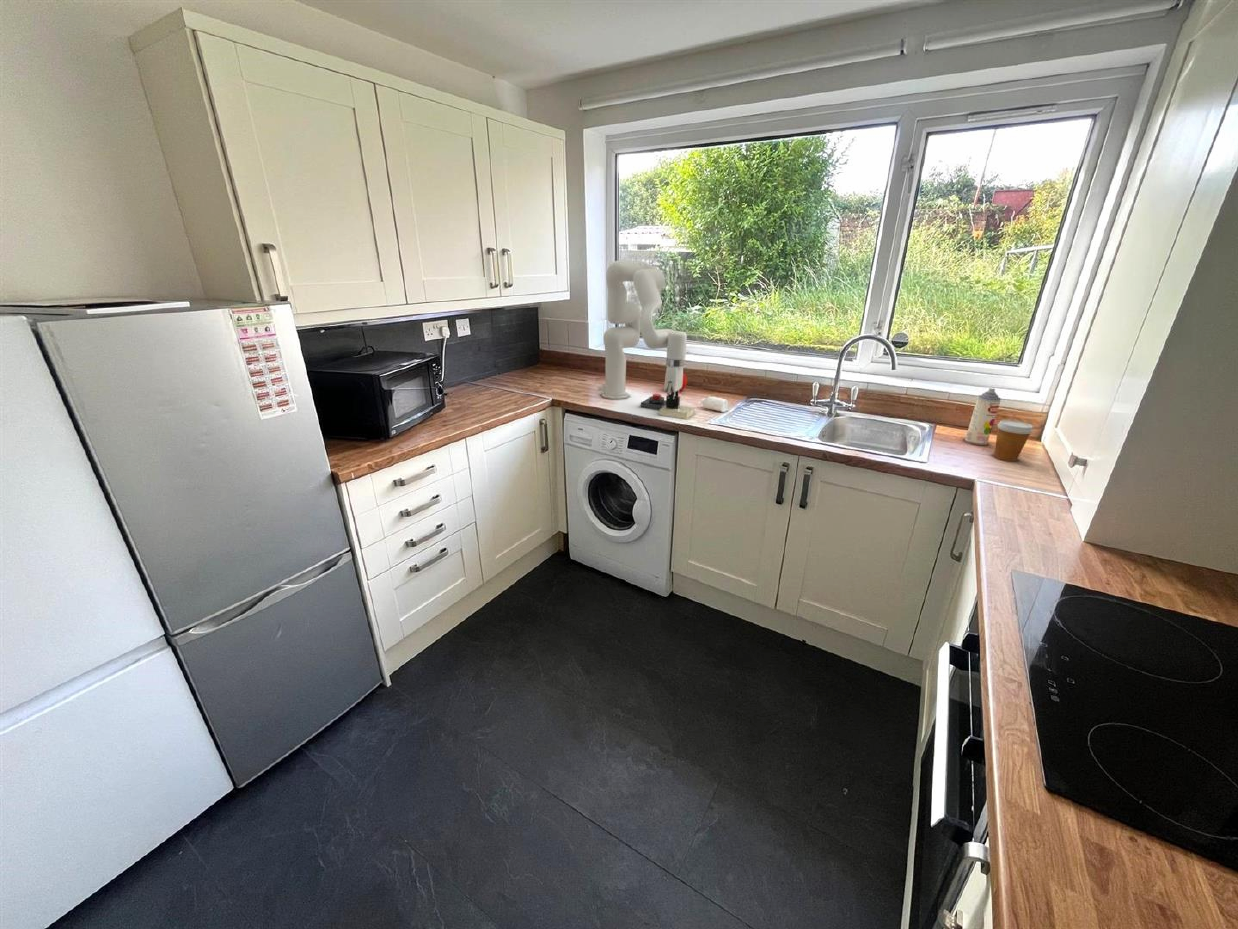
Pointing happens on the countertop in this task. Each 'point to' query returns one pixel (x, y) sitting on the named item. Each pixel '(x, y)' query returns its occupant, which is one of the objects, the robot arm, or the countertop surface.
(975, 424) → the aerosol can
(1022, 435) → the disposable coffee cup
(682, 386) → the tomato
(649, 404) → the block
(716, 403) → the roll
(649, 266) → the robot arm
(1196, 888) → the countertop surface
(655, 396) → the button
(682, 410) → the cream flat block
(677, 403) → the black rectangular block
